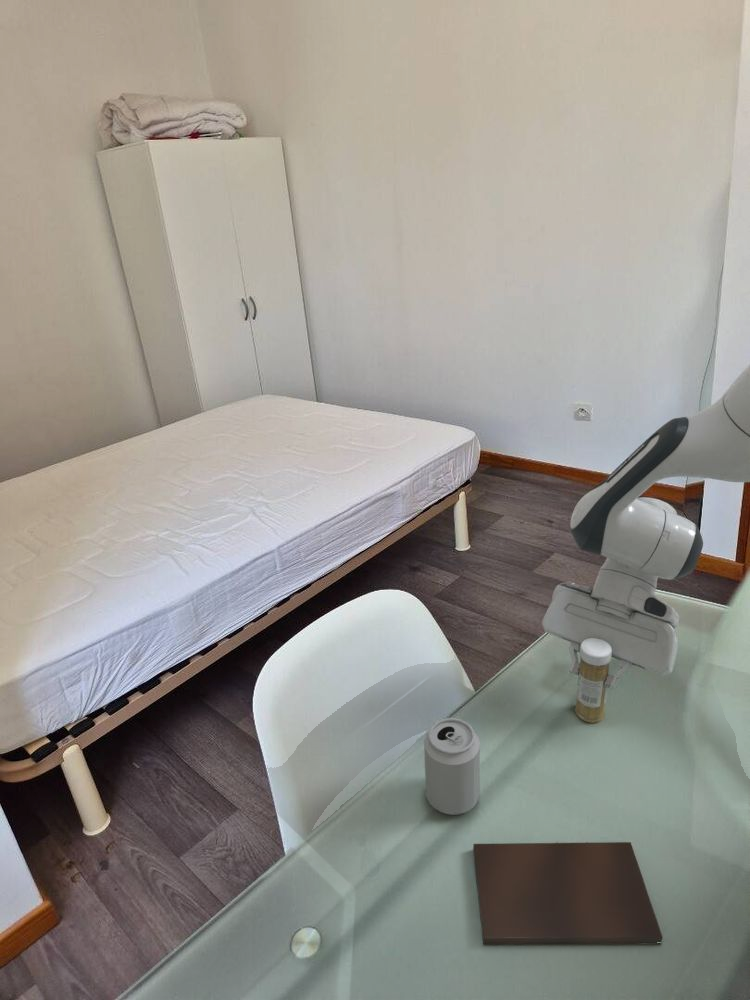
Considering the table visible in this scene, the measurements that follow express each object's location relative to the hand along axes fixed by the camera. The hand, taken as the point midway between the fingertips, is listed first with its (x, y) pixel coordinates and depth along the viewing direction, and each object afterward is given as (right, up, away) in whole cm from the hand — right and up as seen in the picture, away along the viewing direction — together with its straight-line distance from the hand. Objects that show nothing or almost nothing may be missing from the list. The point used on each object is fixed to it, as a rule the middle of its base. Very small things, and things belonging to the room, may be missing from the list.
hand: (591, 680), depth 106 cm
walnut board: (-11, -20, -22) cm, 32 cm away
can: (-22, -14, -9) cm, 28 cm away
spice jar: (+1, -6, +4) cm, 7 cm away
